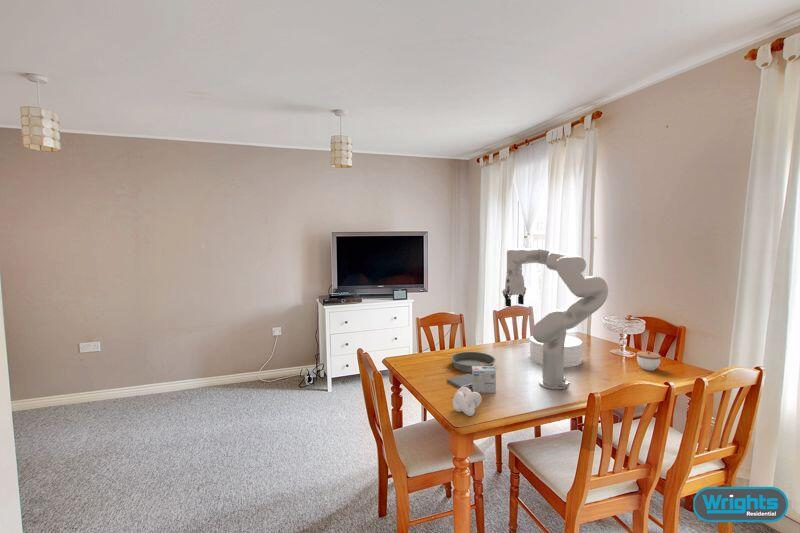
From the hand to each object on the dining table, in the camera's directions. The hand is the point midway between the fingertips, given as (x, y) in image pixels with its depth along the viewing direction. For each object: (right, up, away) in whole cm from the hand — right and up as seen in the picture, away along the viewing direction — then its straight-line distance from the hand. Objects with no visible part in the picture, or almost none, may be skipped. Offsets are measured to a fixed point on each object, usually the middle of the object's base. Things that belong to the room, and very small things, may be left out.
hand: (514, 305), depth 198 cm
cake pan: (-19, -36, +14) cm, 43 cm away
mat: (-27, -37, -10) cm, 47 cm away
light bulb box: (-21, -38, -20) cm, 48 cm away
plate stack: (+30, -34, +22) cm, 51 cm away
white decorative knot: (-32, -40, -41) cm, 65 cm away
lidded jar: (+72, -34, +3) cm, 80 cm away
